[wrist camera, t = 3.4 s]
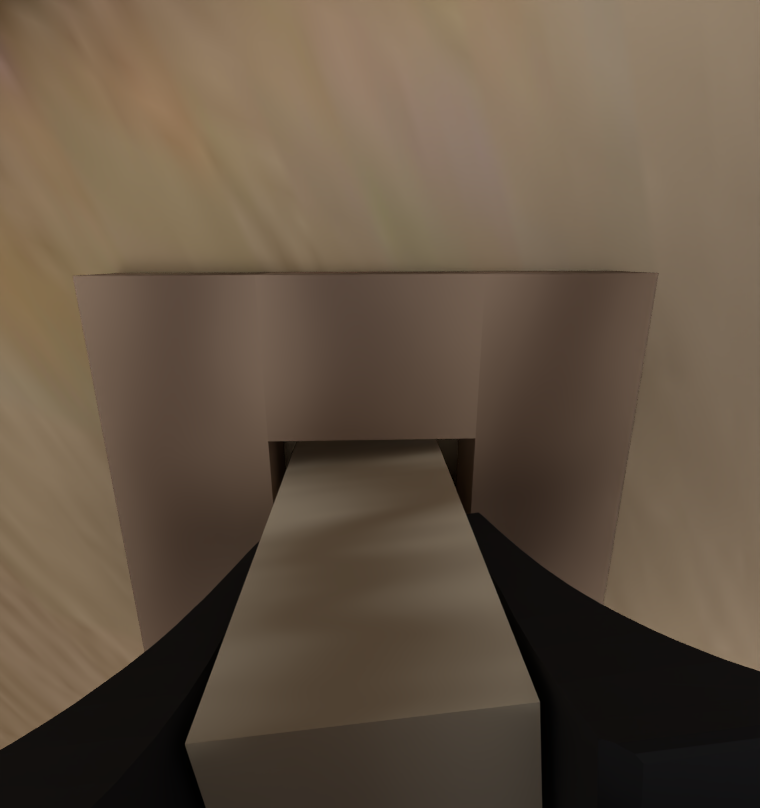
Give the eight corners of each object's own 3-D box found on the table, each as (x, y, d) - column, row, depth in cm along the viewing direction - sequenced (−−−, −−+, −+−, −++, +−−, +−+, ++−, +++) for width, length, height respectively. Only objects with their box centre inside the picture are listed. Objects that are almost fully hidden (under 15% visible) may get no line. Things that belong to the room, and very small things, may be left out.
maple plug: (431, 426, 14) (539, 702, 5) (441, 542, 15) (544, 922, 6) (296, 442, 14) (184, 744, 5) (317, 557, 15) (254, 957, 6)
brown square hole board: (614, 271, 13) (658, 273, 11) (560, 658, 17) (585, 710, 15) (117, 273, 12) (72, 276, 10) (182, 669, 16) (158, 724, 14)
